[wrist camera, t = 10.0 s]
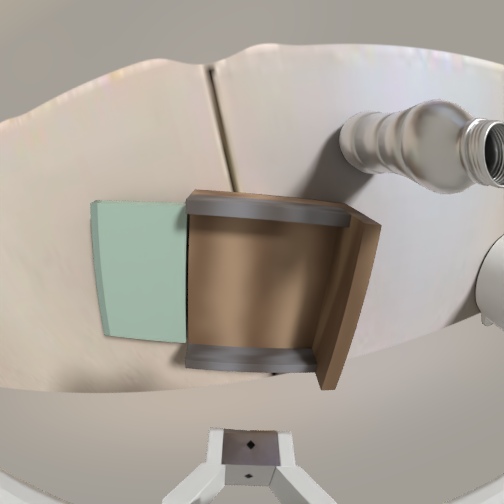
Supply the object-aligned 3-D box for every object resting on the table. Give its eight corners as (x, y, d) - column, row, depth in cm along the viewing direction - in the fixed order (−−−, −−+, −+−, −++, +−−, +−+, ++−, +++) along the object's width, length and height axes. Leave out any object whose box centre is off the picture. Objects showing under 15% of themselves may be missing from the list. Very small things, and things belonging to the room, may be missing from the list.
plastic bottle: (386, 174, 31) (526, 219, 12) (331, 168, 30) (455, 209, 11) (390, 118, 28) (534, 114, 10) (333, 108, 28) (461, 75, 9)
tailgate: (187, 206, 28) (90, 203, 27) (185, 343, 33) (104, 335, 32) (188, 203, 29) (96, 200, 28) (187, 335, 34) (108, 328, 33)
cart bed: (345, 203, 32) (381, 225, 23) (316, 341, 38) (335, 389, 29) (195, 189, 30) (179, 206, 22) (191, 336, 36) (182, 386, 28)
